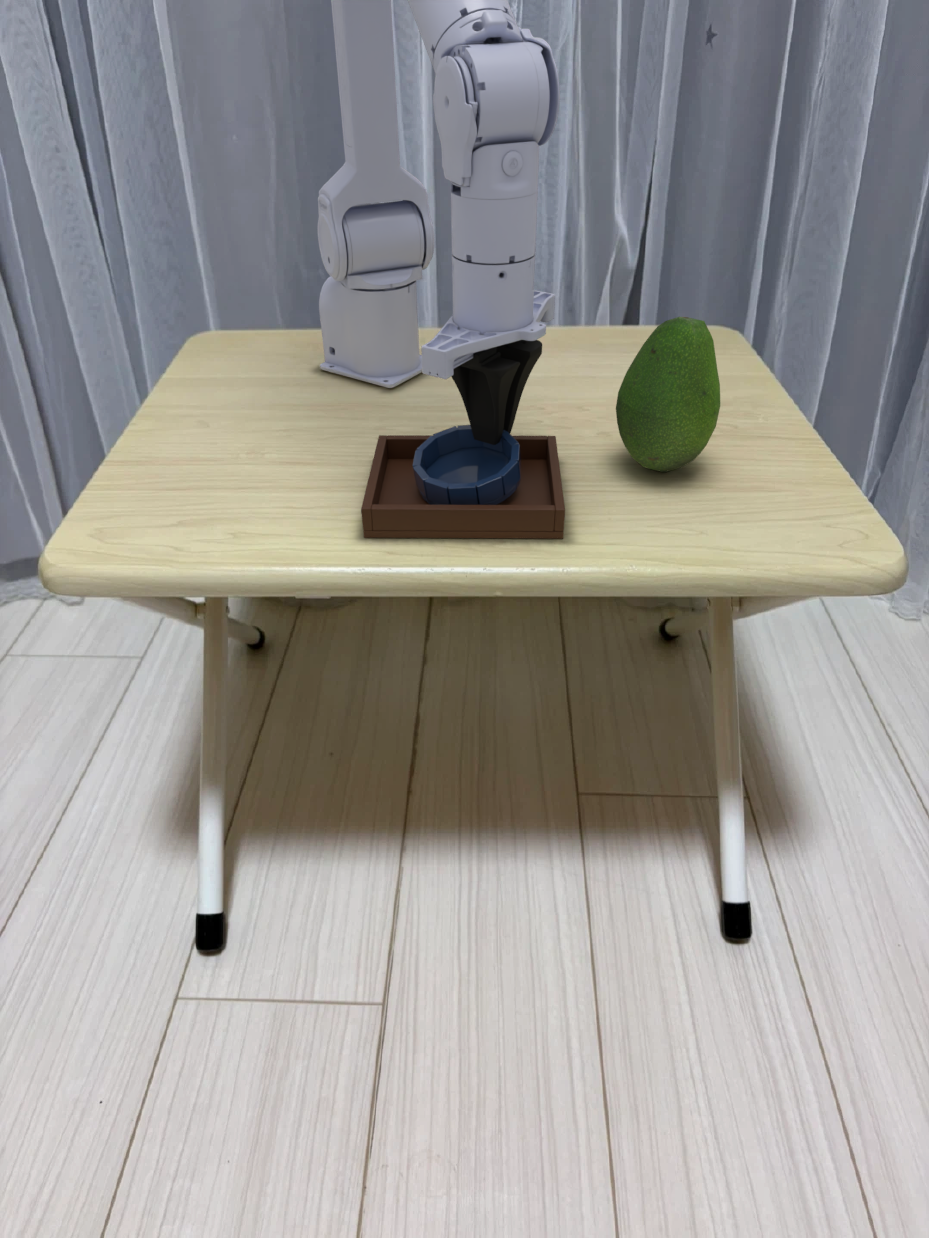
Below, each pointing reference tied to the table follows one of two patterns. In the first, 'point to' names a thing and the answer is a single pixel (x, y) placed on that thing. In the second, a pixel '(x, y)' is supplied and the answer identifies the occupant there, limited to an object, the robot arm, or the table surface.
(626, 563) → the table surface
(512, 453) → the blue faceted bowl
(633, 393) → the fruit
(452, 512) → the tray
